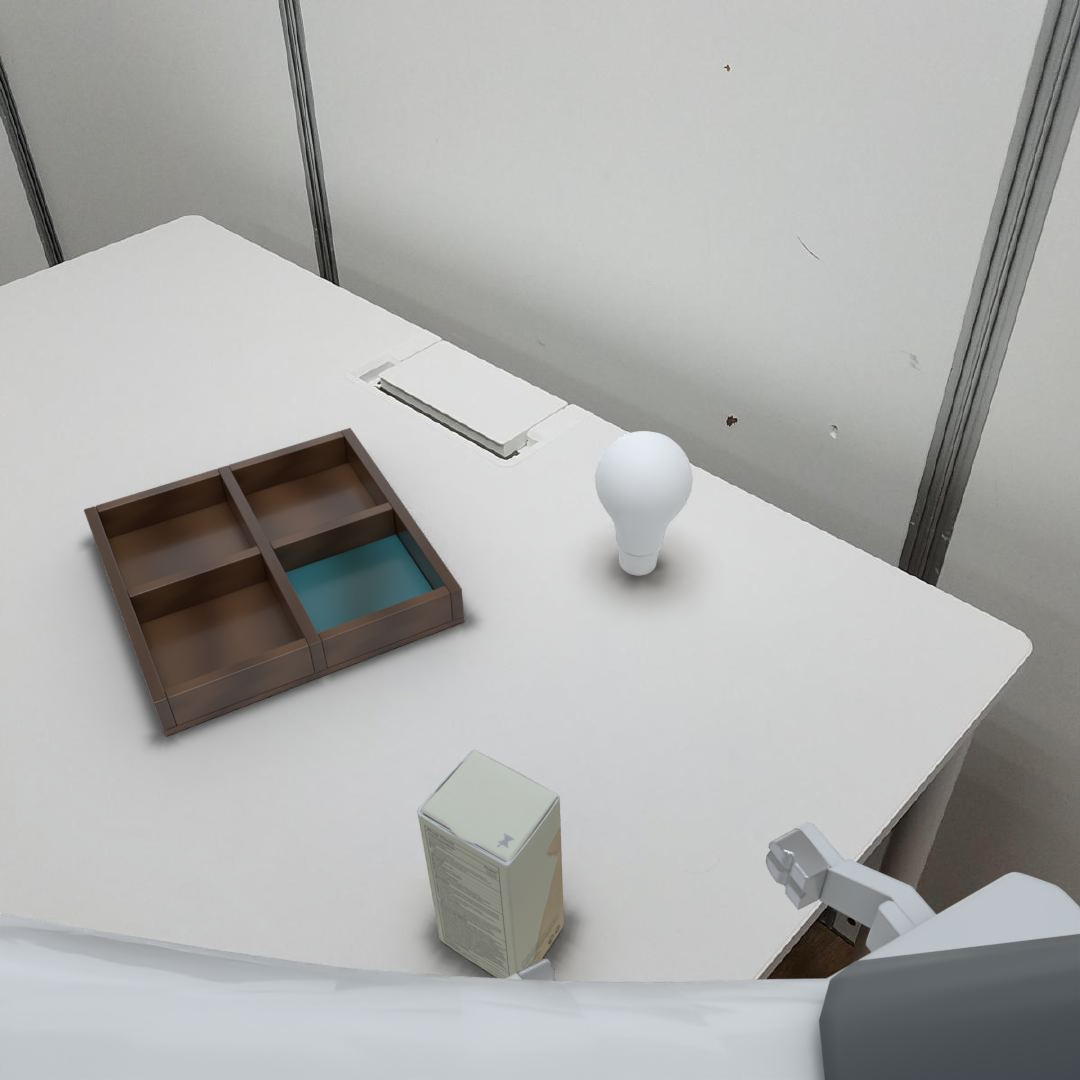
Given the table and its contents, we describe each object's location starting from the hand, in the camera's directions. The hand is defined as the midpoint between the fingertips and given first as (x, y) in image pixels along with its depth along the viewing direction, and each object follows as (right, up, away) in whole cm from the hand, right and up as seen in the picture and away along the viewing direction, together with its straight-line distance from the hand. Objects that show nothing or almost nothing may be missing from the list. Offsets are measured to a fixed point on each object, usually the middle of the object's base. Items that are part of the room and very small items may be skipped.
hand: (660, 906), depth 34 cm
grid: (-22, +8, +41) cm, 47 cm away
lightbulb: (+3, +9, +42) cm, 43 cm away
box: (-6, -9, +22) cm, 25 cm away
